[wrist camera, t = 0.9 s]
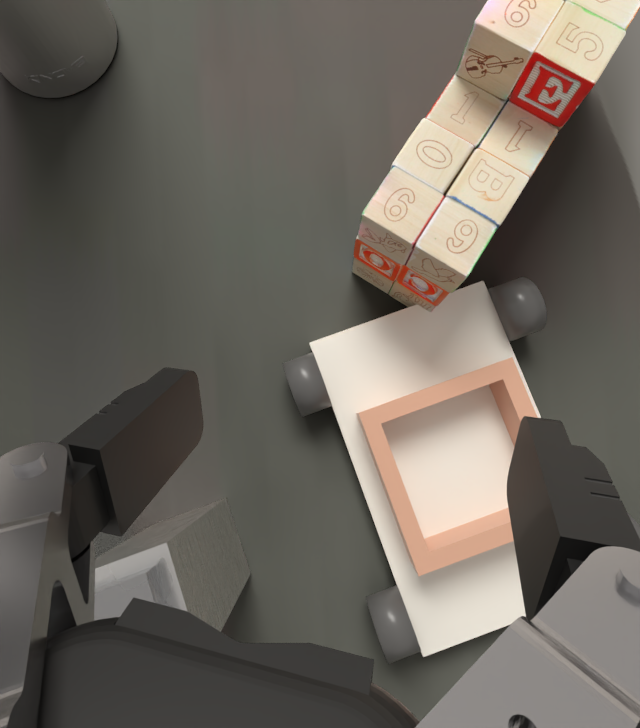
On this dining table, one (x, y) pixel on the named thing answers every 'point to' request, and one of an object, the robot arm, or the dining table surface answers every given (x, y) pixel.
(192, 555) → the grey tall block
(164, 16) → the dining table surface
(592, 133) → the dining table surface
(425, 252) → the stack of blocks
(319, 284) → the dining table surface
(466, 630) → the chassis
